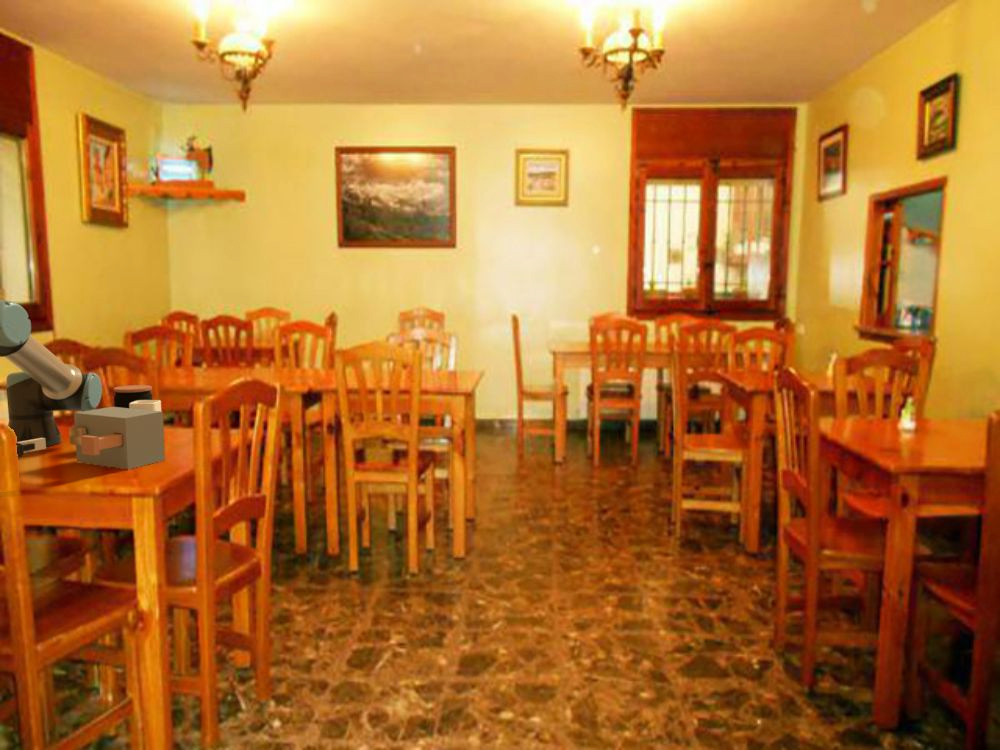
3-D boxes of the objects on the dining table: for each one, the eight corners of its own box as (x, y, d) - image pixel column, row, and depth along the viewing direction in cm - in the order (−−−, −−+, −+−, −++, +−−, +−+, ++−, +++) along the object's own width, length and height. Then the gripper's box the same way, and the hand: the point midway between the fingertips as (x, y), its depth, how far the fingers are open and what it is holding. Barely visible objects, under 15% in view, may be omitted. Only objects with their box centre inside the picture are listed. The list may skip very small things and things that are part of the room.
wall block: (77, 462, 203) (73, 412, 201) (115, 454, 214) (112, 406, 212) (128, 469, 195) (125, 418, 193) (165, 460, 206) (162, 411, 204)
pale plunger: (70, 444, 200) (69, 427, 200) (110, 436, 211) (109, 420, 211) (81, 445, 198) (80, 428, 198) (121, 437, 210) (121, 421, 209)
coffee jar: (153, 446, 224) (150, 388, 222) (114, 449, 220) (111, 390, 218) (155, 440, 234) (153, 384, 232) (118, 442, 230) (115, 385, 228)
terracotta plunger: (81, 453, 188) (80, 436, 188) (124, 444, 200) (123, 428, 199) (94, 455, 186) (93, 437, 186) (136, 446, 198) (135, 429, 197)
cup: (140, 448, 222) (137, 400, 220) (164, 448, 222) (162, 399, 220) (129, 453, 214) (127, 403, 213) (155, 453, 215) (152, 403, 213)
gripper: (-74, 475, 169) (28, 455, 191) (-40, 481, 164) (61, 460, 185) (-77, 443, 168) (26, 426, 190) (-43, 448, 163) (59, 430, 184)
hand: (43, 443), depth 187 cm, fingers closed
